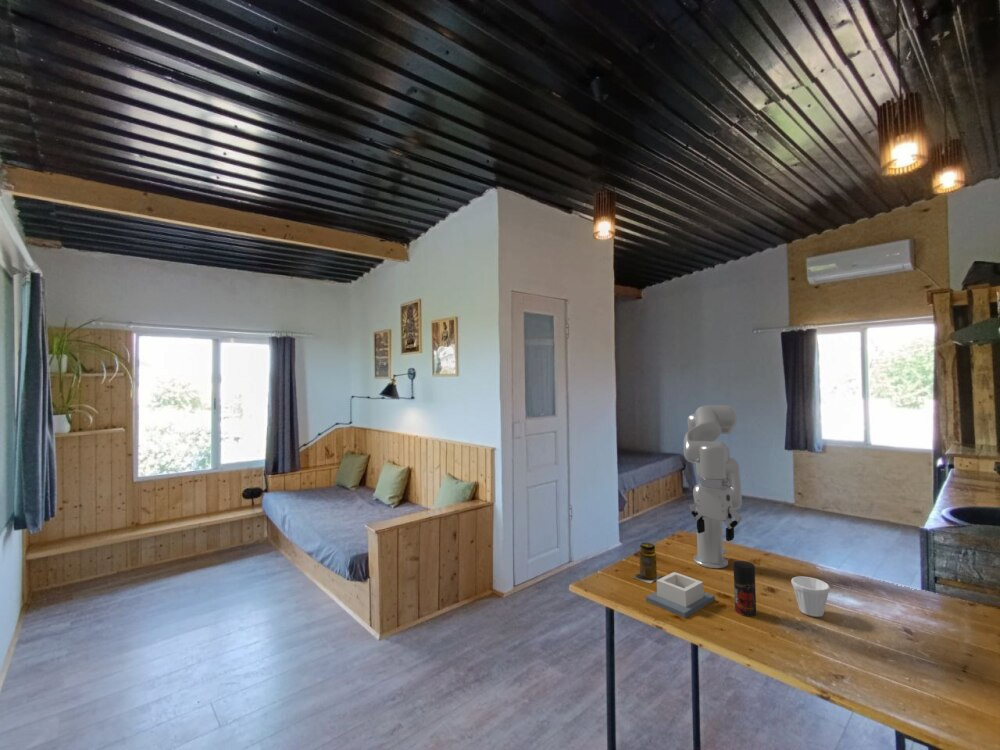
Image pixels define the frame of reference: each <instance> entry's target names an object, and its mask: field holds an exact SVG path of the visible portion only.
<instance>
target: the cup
mask: <svg viewBox="0 0 1000 750" xmlns="http://www.w3.org/2000/svg"><path fill="white" fill-rule="evenodd" d="M790 582H791V585H792V587H793V591H794V594H795V598H796V601H797V605H798V609H799V611H800V613H801V614H803V615H805V616H808V617H811V618H822V617H823V616H824V613H825V610H826V609H825V608H826V605H827V600H828V596H829V593H830V591H831V586H830V584H828V583H826V582H825V581H824V580H821V579H819V578H815V577H810V576H795V577H792V578H791V581H790ZM821 616H822V617H821Z"/></svg>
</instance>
